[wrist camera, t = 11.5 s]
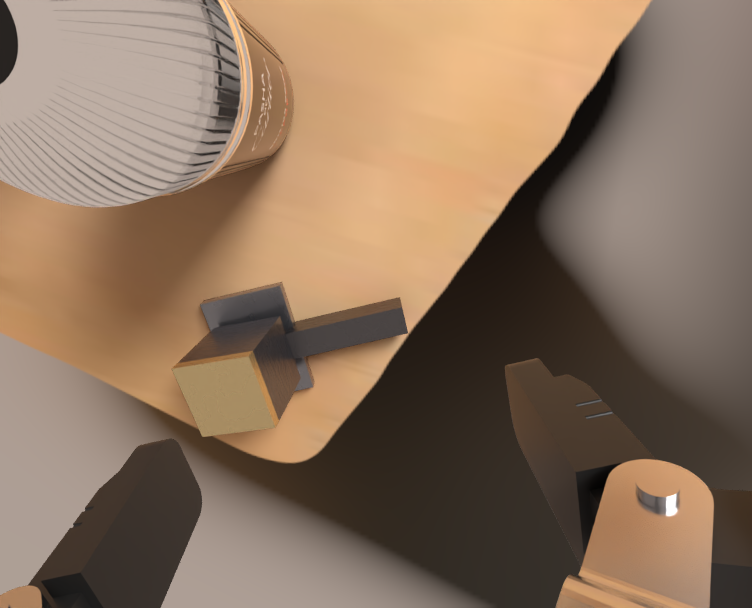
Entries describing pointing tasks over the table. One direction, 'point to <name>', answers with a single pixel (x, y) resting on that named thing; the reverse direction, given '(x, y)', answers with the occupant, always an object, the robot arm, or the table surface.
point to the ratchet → (308, 323)
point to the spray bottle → (134, 97)
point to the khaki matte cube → (239, 377)
